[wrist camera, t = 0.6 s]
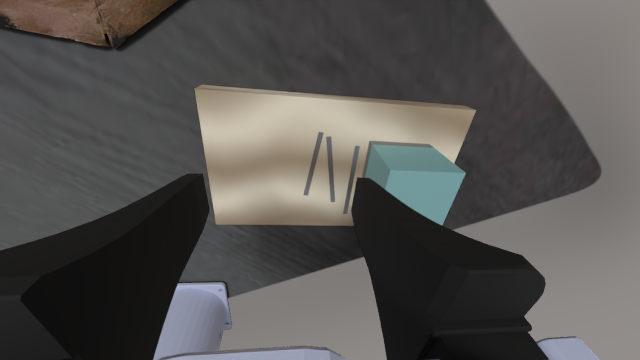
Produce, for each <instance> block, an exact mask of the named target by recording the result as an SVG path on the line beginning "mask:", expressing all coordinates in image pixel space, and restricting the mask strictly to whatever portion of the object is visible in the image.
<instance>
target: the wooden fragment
mask: <svg viewBox="0 0 640 360" xmlns="http://www.w3.org/2000/svg"><path fill="white" fill-rule="evenodd" d="M176 1H178V0H0V26H6V27H10V28H15V29H20V30H25V31H29V32H36V33H39V34H45V35H50V36H53V37H65V38H71V39H72V40H73V39H74V38H75V41H80V42H84V43H90V44H95V45H100V46H109V45H108V44H107V43H106V40H105V36H104V34H107V35H108V36H109V40H110V41H108V42H110V43H111V47H113V48H117V47H119V46H120V45H121V44H122V43H123V42H124V41H125V40H126V39H125V38H127V37H129V36H131V35H132V34H133V33H135V32H136V31H137V30H138V29H140V28H141V27H142V26H144V25H145V24H146V23H148V22H149V21H151V20H152V19H154V18H155V17H156V16H158V15H159V14H160V13H161V12H162V11H164V10H165V9H166V8H168V7H169V6H171V5H172V4H174V3H175V2H176Z"/></svg>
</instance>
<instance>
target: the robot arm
mask: <svg viewBox="0 0 640 360" xmlns="http://www.w3.org/2000/svg"><path fill="white" fill-rule="evenodd" d="M208 213H209V205H208V199H207V194H206V189H205V184H204V178H203V174H186V175H184V176H182V177H180V178H178V179H176V180H175V181H173V182H171V183H169V184H167V185H166V186H164V187H162V188H160V189H158V190H157V191H155V192H153V193H151V194H149V195H148V196H146V197H144V198H142V199H140V200H138V201H136V202H134V203H132V204H130V205H128V206H126V207H124V208H122V209H120V210H117V211H115V212H113V213H111V214H108V215H106V216H104V217H101V218H99V219H96V220H94V221H91V222H89V223H86V224H83V225H80V226H78V227H75V228H72V229H69V230H66V231H64V232H61V233H58V234H55V235H52V236H49V237H45V238H42V239H39V240H36V241H33V242H29V243H26V244H22V245H19V246H15V247H12V248H8V249H4V250H1V251H0V360H345V358H344V357H342V356H341V355H340V354H338V353H336V352H334V351H332V350H330V349H328V348H326V347H313V346H290V347H273V348H258V349H240V350H223V351H218V350H219V346H220V342H221V338H222V334H223V330H228V329H231V327H232V322H231V316H230V310H229V304H228V297H227V291H226V285H225V284H224V283H222V282H211V283H178V282H179V279H180V277H181V275H182V272H183V270H184V268H185V266H186V264H187V262H188V260H189V258H190V256H191V254H192V252H193V250H194V248H195V246H196V244H197V242H198V240H199V237H200V235H201V233H202V231H203V229H204V226H205V223H206V220H207V217H208ZM351 214H352V219H353V224H354V229H355V232H356V235H357V237H358V240H359V243H360V246H361V249H362V252H363V255H364V257H365V260H366V263H367V266H368V269H369V273H370V276H371V280H372V285H373V289H374V293H375V298H376V303H377V307H378V312H379V317H380V322H381V328H382V332H383V338H384V344H385V350H386V356H387V360H600V359H599V358H598V357H597V356H596V355H595V354H594V353H593V352H592V351H591V350H590V349H589V347H588V346H586V344H585V343H584V342H583V341H582V340H581V339H580V338H579V337H575V336H572V337H556V338H546V339H542V340H540V341H537V342H535V341H534V339H533V338H532V337H531V336H530V334H529V333H528V332H529V331H531V330H532V327H531V325H530V324H529V322H528V321H527V320H526V319H525V317H524V316H525V314H526V313H527V312H528V311H529V310H530V309H531V308H532V306H533V305H534V304H535V303H536V302H537V301H538V300H539V298H540V297H541V295H542V294H543V292H544V288H545V278H544V277H543V276H542V275H541V274H540V273H539V272H538V271H537V270H536V269H535V268H534V267H533V266H532V265H531V264H530V263H529V262H528V261H527V260H526V259H525V258H524V257H523V256H522V255H519V254H516V253H512V252H510V251H506V250H503V249H500V248H497V247H494V246H490V245H488V244H484V243H482V242H480V241H476V240H474V239H471V238H469V237H466V236H464V235H462V234H459V233H457V232H455V231H453V230H451V229H448V228H446V227H444V226H442V225H440V224H438V223H436V222H434V221H432V220H430V219H429V218H427V217H425V216H423V215H421V214H420V213H418V212H416V211H415V210H413V209H412V208H410V207H409V206H407V205H406V204H404V203H403V202H401V201H400V200H399V199H397V198H396V197H394V196H393V195H392V194H390V193H389V192H388V191H387V190H385V189H384V188H383V187H381V186H380V185H379V184H377V183H376V182H375V181H373V180H372V179H370V178H359V177H357V180H356V186H355V192H354V197H353V203H352V208H351Z"/></svg>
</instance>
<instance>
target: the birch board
mask: <svg viewBox="0 0 640 360" xmlns="http://www.w3.org/2000/svg"><path fill="white" fill-rule="evenodd" d="M195 94H196V101H197V107H198V113H199V119H200V126H201V132H202V138H203V145H204V151H205V157H206V163H207V170H208V176H209V182H210V188H211V195H212V201H213V207H214V214H215V220H216V224H232V225H327V226H354V224H353V219H352V214H351V208H352V203H353V197H354V192H355V186H356V180H357V177H359V178H362V174H363V169H364V164H365V160H366V155H367V150H368V145H369V141H384V142H401V143H419V144H430V145H431V146H433V147H434V148H435V149H436V150H438V151H439V152H440V153H441V154H443V155H444V156H445V157H446V158H448V159H449V160H450V161H451V162H452V163H454V162H455V160H456V158H457V155H458V153H459V150H460V148H461V146H462V143H463V141H464V138H465V136H466V134H467V131H468V129H469V126H470V124H471V122H472V119H473V117H474V114H475V112H476V110H474V109H471V108H469V107H466V106H461V105H449V104H436V103H424V102H411V101H398V100H386V99H373V98H361V97H348V96H335V95H323V94H310V93H298V92H285V91H272V90H260V89H247V88H234V87H222V86H209V85H201V86H199V87H197V88H195Z"/></svg>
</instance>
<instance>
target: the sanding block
mask: <svg viewBox="0 0 640 360" xmlns="http://www.w3.org/2000/svg"><path fill="white" fill-rule="evenodd" d="M465 174H466V173H465V172H464V171H462V170H461V169H460V168H459V167H457V166H456V165H455V164H454V163H452V162H451V161H450V160H449V159H448V158H446V157H445V156H444V155H443V154H441V153H440V152H439V151H438V150H436V149H435V148H434V147H433V146H431V145H430V144H419V143H401V142H384V141H369V145H368V150H367V155H366V160H365V164H364V169H363V174H362V178H370V179H372V180H373V181H375V182H376V183H377V184H379V185H380V186H381V187H383V188H384V189H385V190H387V191H388V192H389V193H390V194H392V195H393V196H394V197H396V198H397V199H399V200H400V201H401V202H403V203H404V204H406V205H407V206H409V207H410V208H412V209H413V210H415V211H416V212H418V213H420V214H421V215H423V216H425V217H427V218H429V219H430V220H432V221H434V222H436V223H438V224H440V225H443V222H444V220H445V218H446V216H447V214H448V211H449V209H450V207H451V205H452V203H453V200H454V198H455V196H456V194H457V191H458V189H459V187H460V185H461V183H462V180H463V178H464V176H465Z"/></svg>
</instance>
